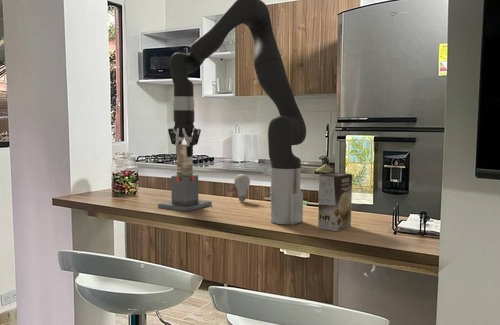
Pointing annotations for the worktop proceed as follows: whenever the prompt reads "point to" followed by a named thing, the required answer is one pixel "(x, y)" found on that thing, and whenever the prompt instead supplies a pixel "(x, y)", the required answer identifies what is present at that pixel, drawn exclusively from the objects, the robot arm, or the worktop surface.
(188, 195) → the stand
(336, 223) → the coffee box
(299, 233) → the worktop surface
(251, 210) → the worktop surface
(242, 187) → the lightbulb
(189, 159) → the column
